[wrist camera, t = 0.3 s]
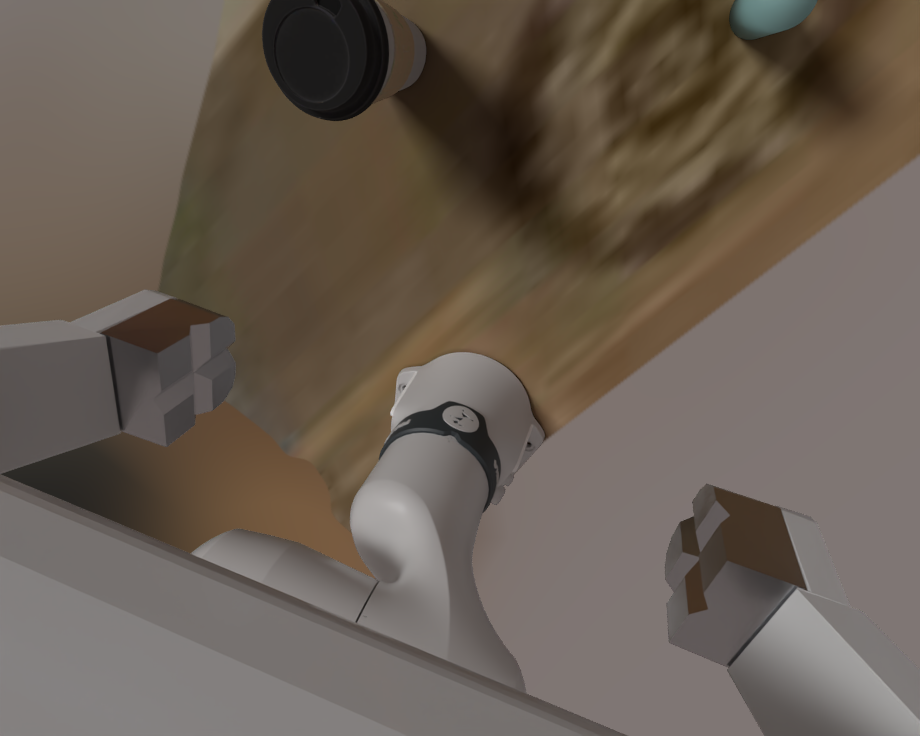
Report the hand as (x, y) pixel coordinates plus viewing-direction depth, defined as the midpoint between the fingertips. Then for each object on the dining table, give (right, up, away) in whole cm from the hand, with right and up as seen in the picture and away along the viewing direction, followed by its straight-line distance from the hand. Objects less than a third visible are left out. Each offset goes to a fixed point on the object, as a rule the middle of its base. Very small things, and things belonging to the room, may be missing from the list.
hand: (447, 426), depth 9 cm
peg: (+23, +28, +32) cm, 48 cm away
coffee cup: (-6, +30, +41) cm, 51 cm away
